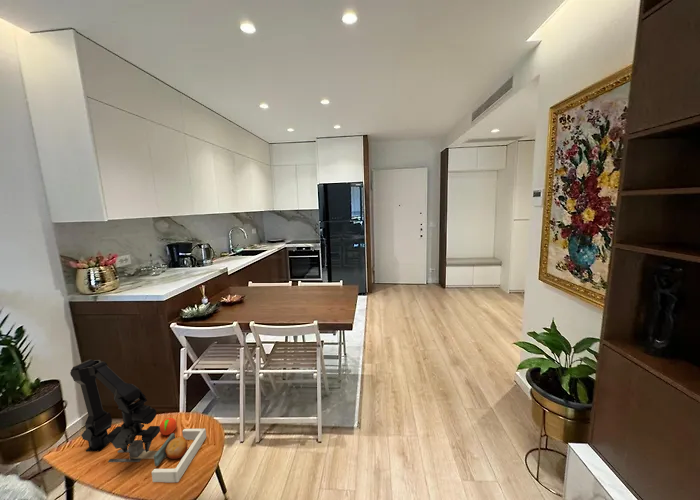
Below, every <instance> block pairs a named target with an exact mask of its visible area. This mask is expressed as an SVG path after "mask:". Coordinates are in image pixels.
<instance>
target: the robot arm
mask: <svg viewBox="0 0 700 500" xmlns="http://www.w3.org/2000/svg"><path fill="white" fill-rule="evenodd" d="M69 374H70V376H71V377H72V379H73V381H74V382H76V383H77V384H79V385H80V388H81V391H82V396H83V399H84V405H85V408H86V412H87V414H88V415H87V418H86V421H85V423H84V424H85V425H84V427H85V430H84V431H83V432H82V434H81V438H82V440H83V441H87V443H88V448H87V449H86V450H85V451H86V452H101V451H102V450H103V449H105V447H106V446H107V445H109V443H110V444H112V445H113V447H114V448H115V449H118V450H119V449H120V450H123V451H124V452H126V451H127V449H128V446H129V445H130V444H132V443H133V441H134V440H136V437H139V436H140V437H141V440H142V443H143V446H144V449H145V450H146V452H148V450H149V451H150V447H151V445H152V441H154V439H155V438H156V437H157V435H158V434H159V433H160V425H149V424H151V423H152V422H153V421H154V420H155V418H156V416H157V410H156V408H153V407H151V405H146V404H145V403H146V402H147V401H148V400H147V398H146V397H147V396H146V395H145V393H143V392H142V391H141V389H140V388H139V387H138V386H136V385H135V384H133V383H127V382H125V381H124V380H123V379H122V378H121V377H120V376H118V374H116V373H115V372H114V371H113V370H112V369H111V368H110V367H109V366H108V363H107V362H106V361H101V359H95V360H93V359H91V358H90V359H88V360H85V361H83V362H81V363H79V364H77V365H74V366H73V367H72V369H70V373H69ZM96 379H97V380H99V381H100V382H101V384H103V386H105V387H106V388H107V389H108V390H109V391H110V392H111V393H112V394H113V400H114V402H115V403H116V405H117V406H118V407H117V409H118V410H121V415H122V424H121V425H120V426H115V428H113V430H112V431H110V432H109V433H108V430H109V429H111V428H112V424H113V418H112V413H111V412H107V411H106V410H104V408H103V405H102V400H101V396H100V392H99V389H98V384H97V380H96ZM145 425H149V427H148V428H147V429H143V428H144V427H145Z"/></svg>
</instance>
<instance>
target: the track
mask: <svg viewBox="0 0 700 500" xmlns="http://www.w3.org/2000/svg"><path fill="white" fill-rule="evenodd" d="M144 451H146V450H145V448H144ZM148 451H150V449H149V450H148ZM117 453H120V454H121V453H123V454H125V453H129V450H128V448H127V451H126V452H124V451H123V450H122V449H118V450H117ZM141 461H142V459H130V458H110V459H109V460H108V461H107V462H108V463H139V462H141Z"/></svg>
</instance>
